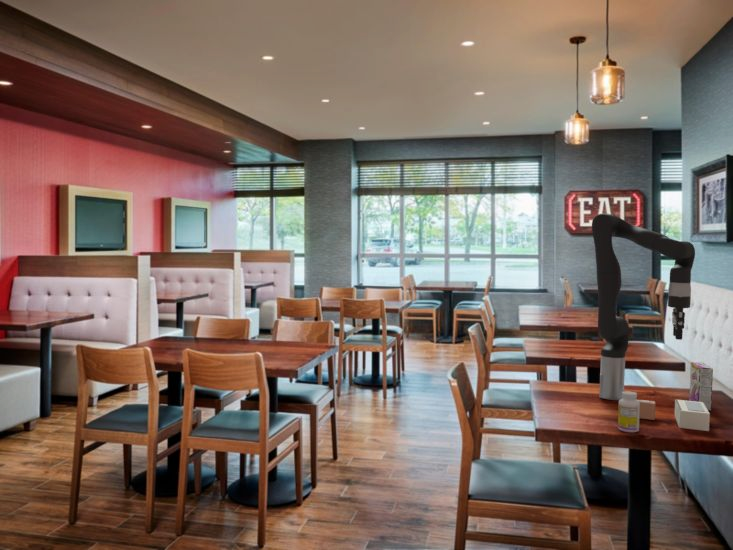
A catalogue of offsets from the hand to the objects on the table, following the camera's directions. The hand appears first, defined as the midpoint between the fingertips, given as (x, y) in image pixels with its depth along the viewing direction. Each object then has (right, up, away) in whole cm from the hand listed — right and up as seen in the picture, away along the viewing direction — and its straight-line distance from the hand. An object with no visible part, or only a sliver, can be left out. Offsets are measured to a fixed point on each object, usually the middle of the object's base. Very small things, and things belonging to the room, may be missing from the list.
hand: (677, 337), depth 228 cm
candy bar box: (+13, -28, +9) cm, 32 cm away
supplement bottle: (-28, -29, -22) cm, 46 cm away
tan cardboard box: (-16, -28, -7) cm, 34 cm away
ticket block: (-2, -29, -13) cm, 32 cm away
